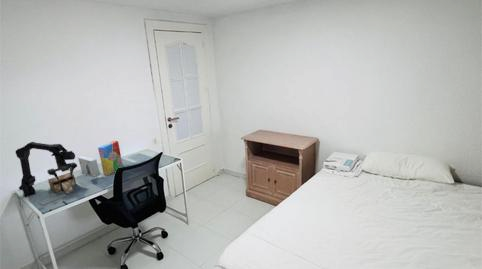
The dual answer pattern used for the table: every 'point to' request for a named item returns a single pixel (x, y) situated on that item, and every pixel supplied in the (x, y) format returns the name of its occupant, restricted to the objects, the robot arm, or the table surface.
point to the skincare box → (89, 166)
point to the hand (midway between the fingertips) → (65, 178)
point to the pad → (53, 199)
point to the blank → (66, 186)
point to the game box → (110, 157)
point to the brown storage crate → (56, 184)
